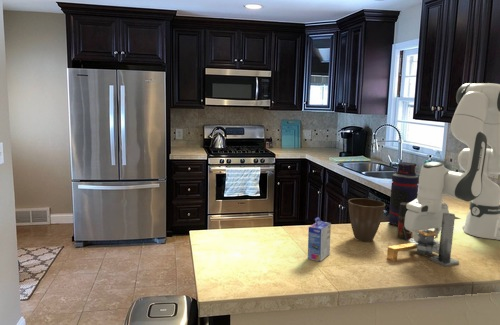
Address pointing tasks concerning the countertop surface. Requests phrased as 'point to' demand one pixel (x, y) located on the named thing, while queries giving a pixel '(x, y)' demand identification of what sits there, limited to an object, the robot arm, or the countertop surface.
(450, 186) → the robot arm
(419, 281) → the countertop surface
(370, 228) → the plant pot
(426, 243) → the grey lidded jar
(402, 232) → the deodorant
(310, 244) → the ink cartridge box
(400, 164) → the thermos bottle
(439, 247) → the post
